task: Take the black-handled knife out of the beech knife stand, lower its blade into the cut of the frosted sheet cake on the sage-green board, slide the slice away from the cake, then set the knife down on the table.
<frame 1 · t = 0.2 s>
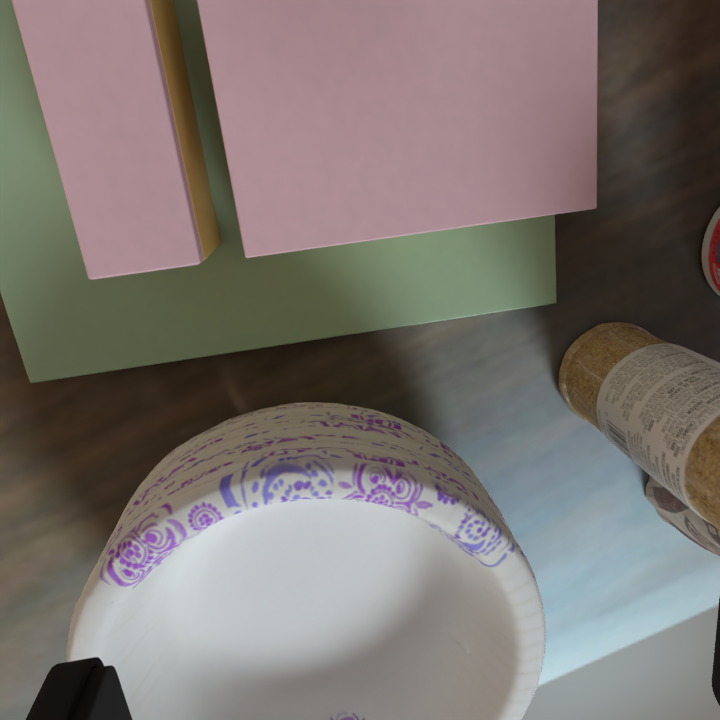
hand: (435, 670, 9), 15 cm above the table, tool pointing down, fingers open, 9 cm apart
ceramic jug: (714, 460, 27), on the table
sprinkles bottle: (602, 368, 25), on the table
paper bowls: (310, 531, 26), on the table
slice: (151, 128, 19), point 1 cm above the table, touching cake board
cake board: (265, 117, 20), on the table
cake: (382, 99, 20), point 1 cm above the table, touching cake board
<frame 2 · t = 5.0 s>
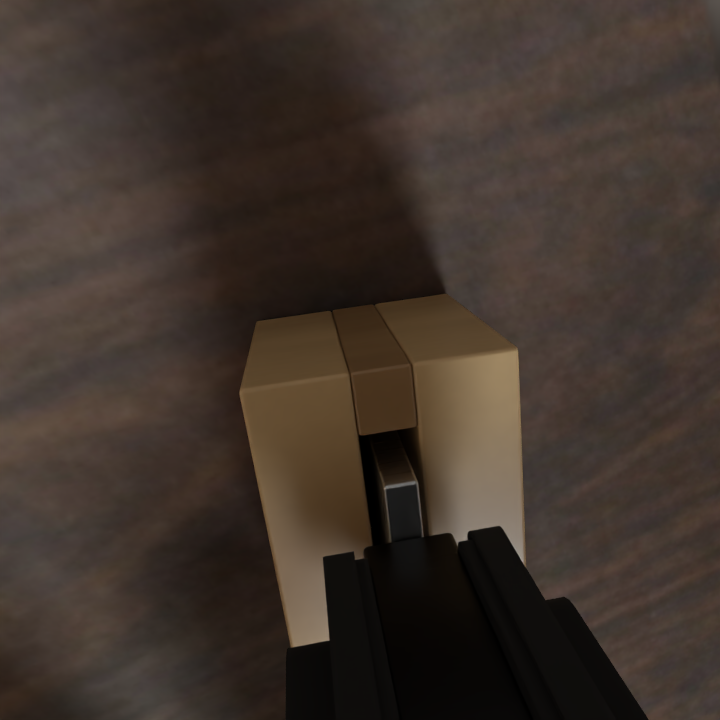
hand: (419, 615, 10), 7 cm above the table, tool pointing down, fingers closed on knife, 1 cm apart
knife stand: (370, 446, 16), on the table
knife: (413, 593, 10), in the knife stand, touching gripper
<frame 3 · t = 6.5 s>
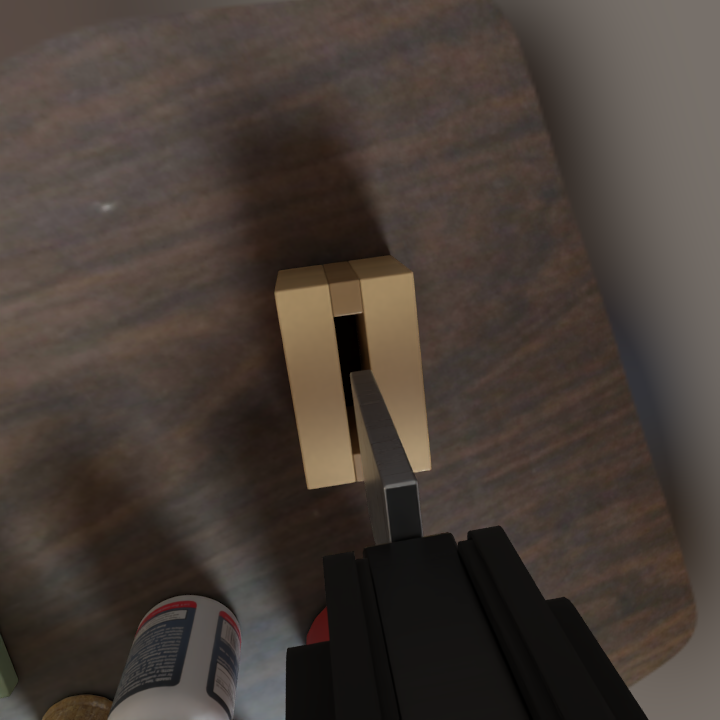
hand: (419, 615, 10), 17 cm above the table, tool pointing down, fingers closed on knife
pill bottle: (191, 631, 30), on the table
sprinkles bottle: (88, 719, 31), on the table
beer can: (366, 631, 31), on the table
knife stand: (346, 349, 26), on the table
knife: (413, 593, 10), point 17 cm above the table, touching gripper
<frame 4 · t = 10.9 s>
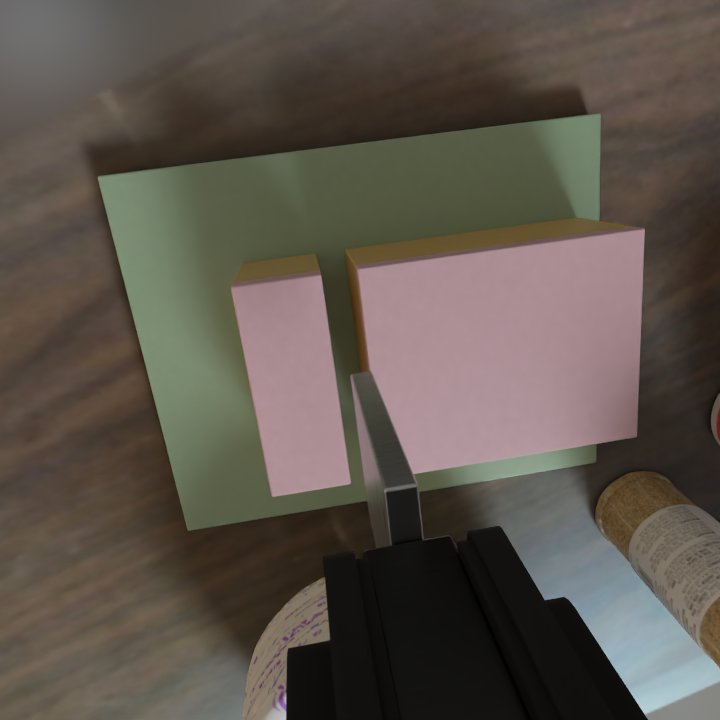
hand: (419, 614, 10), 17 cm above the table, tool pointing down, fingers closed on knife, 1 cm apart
sprinkles bottle: (629, 502, 31), on the table
paper bowls: (391, 629, 32), on the table
slice: (294, 350, 25), point 1 cm above the table, touching cake board
cake board: (375, 331, 26), on the table
cake: (468, 324, 25), point 1 cm above the table, touching cake board
knife: (413, 596, 10), point 17 cm above the table, touching gripper
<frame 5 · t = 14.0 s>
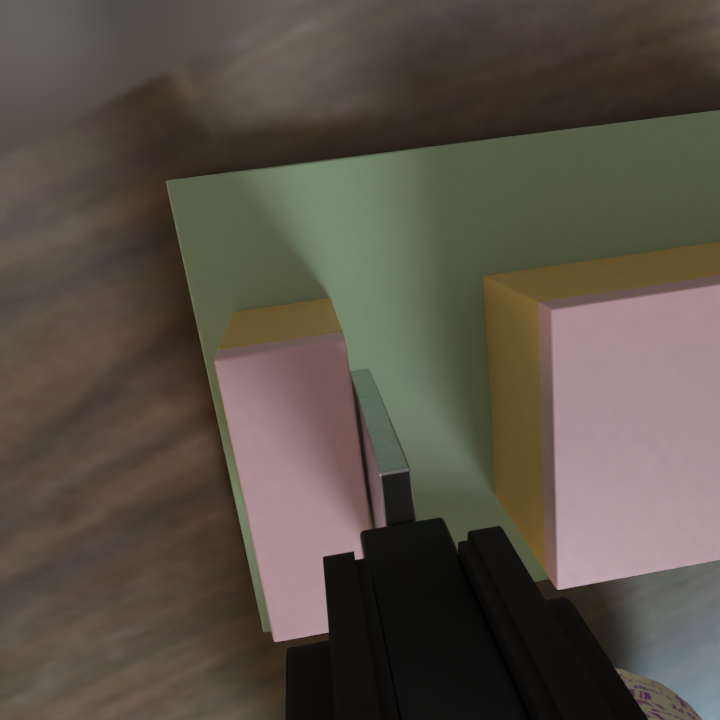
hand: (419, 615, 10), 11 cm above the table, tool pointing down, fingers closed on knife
slice: (302, 423, 19), point 1 cm above the table, touching cake board
cake board: (507, 379, 20), on the table
cake: (630, 370, 20), point 1 cm above the table, touching cake board
knife: (407, 575, 11), point 9 cm above the table, touching gripper
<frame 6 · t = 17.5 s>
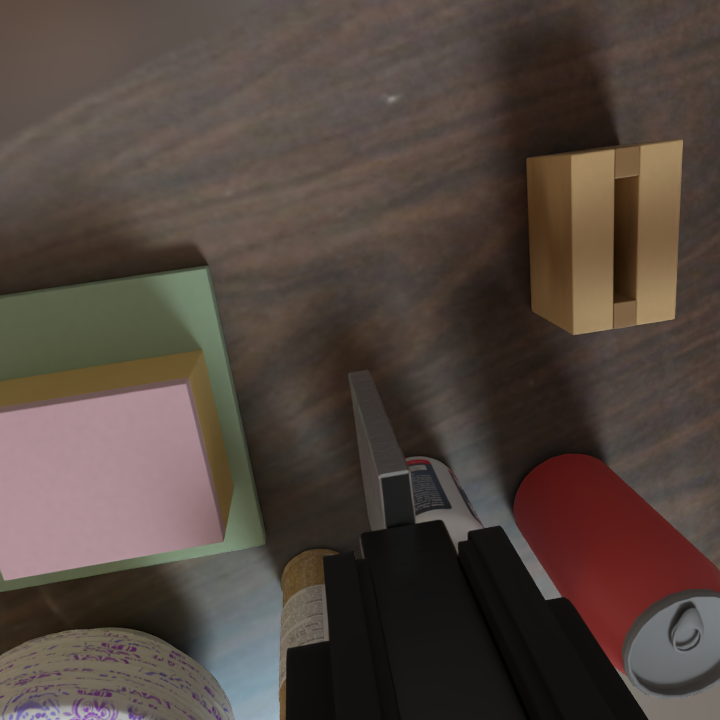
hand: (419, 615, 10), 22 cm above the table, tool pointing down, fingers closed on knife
pill bottle: (413, 492, 34), on the table
sprinkles bottle: (317, 574, 35), on the table
paper bowls: (117, 685, 36), on the table
beer can: (560, 495, 36), on the table
cake board: (52, 441, 31), on the table
knife stand: (574, 231, 30), on the table
cake: (123, 437, 30), point 1 cm above the table, touching cake board
knife: (407, 577, 11), point 20 cm above the table, touching gripper
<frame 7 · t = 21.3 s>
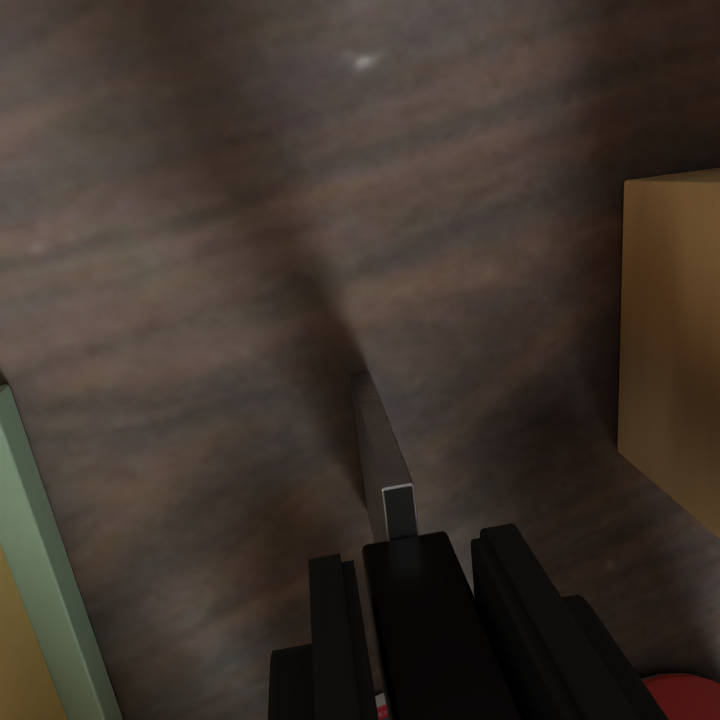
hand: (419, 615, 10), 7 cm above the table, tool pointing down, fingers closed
knife stand: (702, 314, 17), on the table
knife: (409, 588, 11), on the table
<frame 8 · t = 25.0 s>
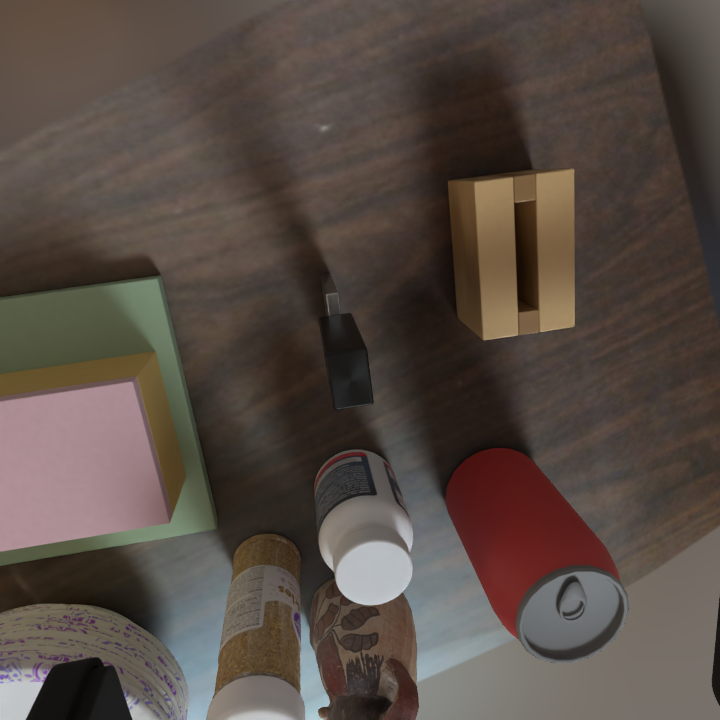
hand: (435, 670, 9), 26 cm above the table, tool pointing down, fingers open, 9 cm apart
pill bottle: (354, 482, 38), on the table
ceramic jug: (358, 608, 41), on the table
sprinkles bottle: (266, 557, 39), on the table
paper bowls: (83, 658, 39), on the table
beer can: (490, 486, 39), on the table
cake board: (20, 433, 34), on the table
knife stand: (494, 246, 34), on the table
cake: (84, 429, 33), point 1 cm above the table, touching cake board
knife: (338, 338, 28), on the table
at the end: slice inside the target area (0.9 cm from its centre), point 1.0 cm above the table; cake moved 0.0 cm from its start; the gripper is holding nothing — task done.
